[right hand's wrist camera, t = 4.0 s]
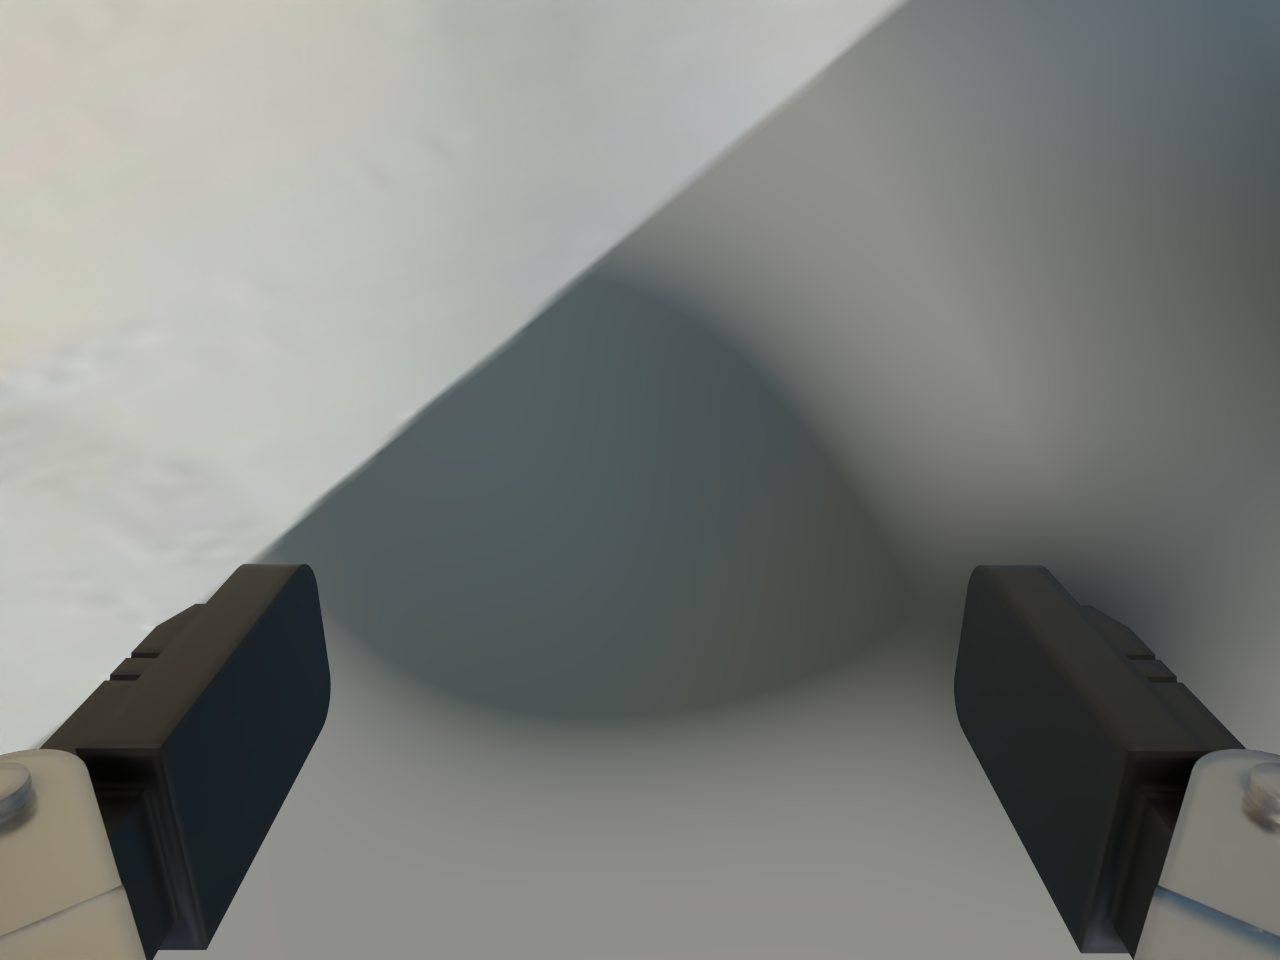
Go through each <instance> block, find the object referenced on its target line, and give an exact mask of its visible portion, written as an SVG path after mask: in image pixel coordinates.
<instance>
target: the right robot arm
mask: <svg viewBox="0 0 1280 960" xmlns="http://www.w3.org/2000/svg"><path fill="white" fill-rule="evenodd" d="M330 686H331V684H330V671H329V664H328V657H327V650H326V643H325V637H324V630H323V623H322V616H321V609H320V602H319V595H318V588H317V583H316V579H315V575H314V573H313V571H312V569H311V567H310V566H309V565H307V564H243V565H241V566H240V567H239V568H237V570H236V571H235V572H234V573H233V574H232V575H231V576H230V577H229V578H228V580H227V581H226V582H225V583H224V584H223V585H222V586H221V587H220V588H219V589H218V591H217V592H216V593H215V594H214V595H213V596H212V597H211V598H210V599H209V601H208V602H207V603H206V604H195V605H193V606H191V607H189V608H188V609H186V610H184V611H182V612H181V613H179V614H177V615H176V616H174V617H172V618H170V619H169V620H167V621H165V622H163V623H162V624H160V625H158V626H157V627H156V628H155V629H154V630H153V631H152V632H151V633H150V634H149V635H148V636H147V637H146V638H145V639H144V640H143V641H142V642H141V643H140V644H139V645H138V646H137V647H136V648H135V649H134V651H133V652H132V653H131V658H126V659H125V660H124V661H123V662H122V663H121V664H120V665H119V666H118V667H117V668H116V669H115V670H114V671H113V672H112V673H111V675H110V680H109V681H104V682H103V683H102V684H101V685H100V686H99V687H98V688H97V689H96V690H95V691H94V692H93V693H92V694H91V695H90V696H89V697H88V699H87V700H86V701H85V702H84V703H83V704H82V705H81V706H80V707H79V708H78V709H77V710H76V711H75V712H74V713H73V714H72V715H71V716H70V717H69V718H68V719H67V720H66V721H65V723H64V724H63V725H62V726H61V727H60V728H59V729H58V730H57V731H56V732H55V733H54V734H53V735H52V736H51V737H50V738H49V739H48V740H47V741H46V742H45V743H44V744H43V745H42V747H41V748H40V749H32V750H24V751H17V752H13V753H8V754H3V755H0V960H153V958H154V956H155V955H156V953H157V951H158V950H206V949H207V947H208V945H209V944H210V941H211V940H212V938H213V936H214V934H215V932H216V930H217V928H218V926H219V924H220V923H221V921H222V919H223V917H224V915H225V913H226V911H227V909H228V907H229V905H230V903H231V902H232V900H233V898H234V896H235V894H236V892H237V890H238V888H239V886H240V884H241V882H242V881H243V879H244V877H245V875H246V873H247V871H248V869H249V867H250V865H251V863H252V861H253V860H254V858H255V856H256V854H257V852H258V850H259V848H260V846H261V844H262V842H263V841H264V839H265V837H266V835H267V833H268V831H269V829H270V827H271V825H272V823H273V821H274V820H275V818H276V816H277V814H278V812H279V810H280V808H281V806H282V804H283V802H284V800H285V799H286V797H287V795H288V793H289V791H290V789H291V787H292V785H293V783H294V781H295V779H296V778H297V776H298V774H299V772H300V770H301V768H302V766H303V764H304V762H305V760H306V758H307V757H308V755H309V753H310V751H311V749H312V747H313V745H314V743H315V741H316V739H317V737H318V736H319V734H320V732H321V730H322V728H323V725H324V723H325V720H326V717H327V713H328V708H329V701H330ZM954 695H955V705H956V711H957V715H958V719H959V722H960V725H961V727H962V730H963V732H964V734H965V736H966V737H967V739H968V741H969V743H970V745H971V747H972V749H973V751H974V753H975V754H976V756H977V758H978V760H979V762H980V764H981V766H982V768H983V769H984V771H985V773H986V775H987V777H988V779H989V781H990V783H991V785H992V786H993V788H994V790H995V792H996V794H997V796H998V798H999V800H1000V802H1001V804H1002V805H1003V807H1004V809H1005V811H1006V813H1007V815H1008V817H1009V819H1010V820H1011V822H1012V824H1013V826H1014V828H1015V830H1016V832H1017V834H1018V836H1019V837H1020V839H1021V841H1022V843H1023V845H1024V847H1025V849H1026V851H1027V853H1028V854H1029V856H1030V858H1031V860H1032V862H1033V864H1034V866H1035V867H1036V869H1037V871H1038V873H1039V875H1040V877H1041V879H1042V881H1043V883H1044V885H1045V886H1046V888H1047V890H1048V892H1049V894H1050V896H1051V898H1052V900H1053V902H1054V903H1055V905H1056V907H1057V909H1058V911H1059V913H1060V915H1061V916H1062V918H1063V920H1064V922H1065V924H1066V926H1067V928H1068V930H1069V932H1070V933H1071V935H1072V937H1073V939H1074V941H1075V943H1076V945H1077V947H1078V949H1079V950H1080V952H1081V953H1129V954H1130V955H1131V957H1132V959H1133V960H1280V755H1277V754H1272V753H1267V752H1263V751H1256V750H1247V749H1246V748H1245V747H1244V746H1243V745H1242V744H1241V743H1240V742H1239V741H1238V740H1237V739H1236V738H1235V737H1234V736H1233V735H1232V734H1231V733H1230V732H1229V731H1228V730H1227V729H1226V727H1225V726H1224V725H1223V724H1222V723H1221V722H1220V721H1219V720H1218V719H1217V718H1216V717H1215V716H1214V715H1213V714H1212V713H1211V712H1210V711H1209V710H1208V709H1207V708H1206V707H1205V706H1204V705H1203V704H1202V703H1201V702H1200V701H1199V700H1198V699H1197V697H1196V696H1195V695H1194V694H1193V693H1192V692H1191V691H1190V690H1189V689H1188V688H1187V687H1186V686H1185V685H1184V684H1183V683H1177V680H1176V676H1175V675H1174V674H1173V673H1172V672H1171V671H1170V670H1169V669H1168V667H1167V666H1166V665H1165V664H1164V663H1163V662H1162V661H1161V660H1155V654H1154V653H1153V652H1152V651H1151V650H1150V649H1149V648H1148V647H1147V646H1146V645H1145V644H1144V643H1143V642H1142V641H1141V640H1140V639H1139V637H1138V636H1137V635H1136V634H1135V633H1134V632H1133V631H1132V630H1131V629H1130V628H1128V627H1127V626H1125V625H1123V624H1121V623H1120V622H1118V621H1116V620H1114V619H1113V618H1111V617H1109V616H1107V615H1106V614H1104V613H1102V612H1100V611H1099V610H1097V609H1095V608H1094V607H1092V606H1090V605H1083V606H1082V605H1080V604H1079V603H1078V602H1077V601H1076V600H1075V599H1074V598H1073V597H1072V596H1071V595H1070V593H1069V592H1068V591H1067V590H1066V589H1065V588H1064V587H1063V586H1062V585H1061V584H1060V582H1059V581H1058V580H1057V579H1056V578H1055V577H1054V576H1053V575H1052V574H1051V573H1050V571H1049V570H1048V569H1046V568H1045V567H1043V566H1040V565H980V566H977V567H976V568H975V569H974V570H973V572H972V574H971V577H970V580H969V584H968V590H967V596H966V603H965V610H964V617H963V623H962V630H961V637H960V644H959V651H958V657H957V664H956V671H955V679H954Z"/></svg>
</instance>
